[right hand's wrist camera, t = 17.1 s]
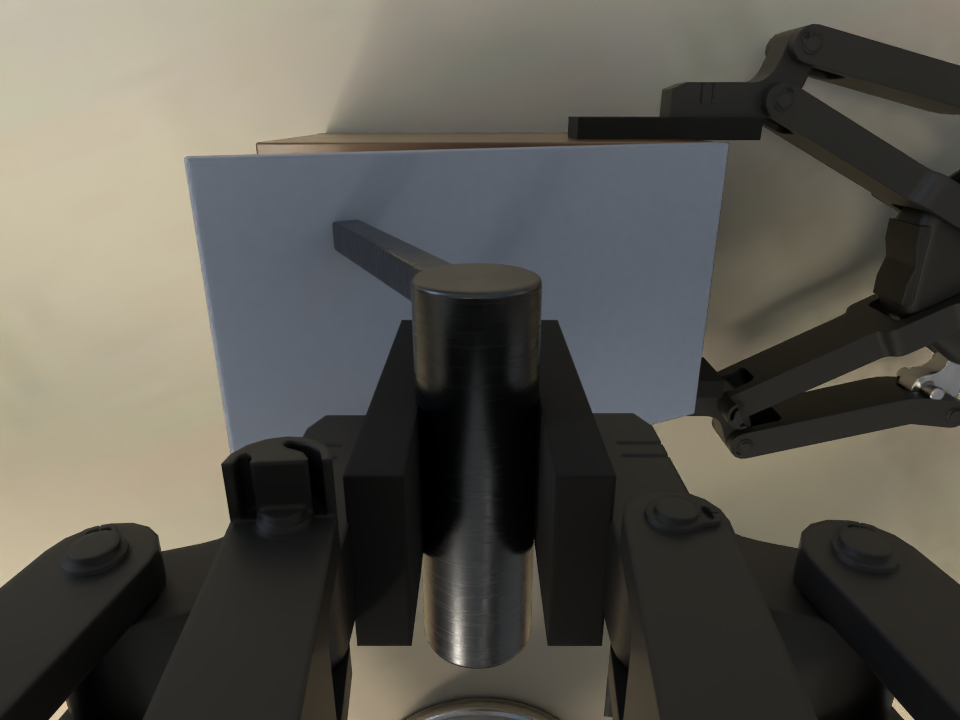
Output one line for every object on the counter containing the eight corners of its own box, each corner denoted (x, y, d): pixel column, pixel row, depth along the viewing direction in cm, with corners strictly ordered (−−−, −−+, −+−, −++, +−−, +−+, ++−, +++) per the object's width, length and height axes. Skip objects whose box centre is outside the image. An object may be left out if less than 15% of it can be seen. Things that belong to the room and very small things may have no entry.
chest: (339, 324, 33) (286, 406, 24) (323, 133, 30) (254, 142, 21) (625, 323, 34) (683, 404, 24) (641, 132, 30) (715, 141, 21)
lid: (240, 515, 18) (317, 807, 10) (183, 156, 14) (236, 203, 7) (679, 405, 24) (920, 535, 17) (710, 142, 21) (1030, 157, 13)
